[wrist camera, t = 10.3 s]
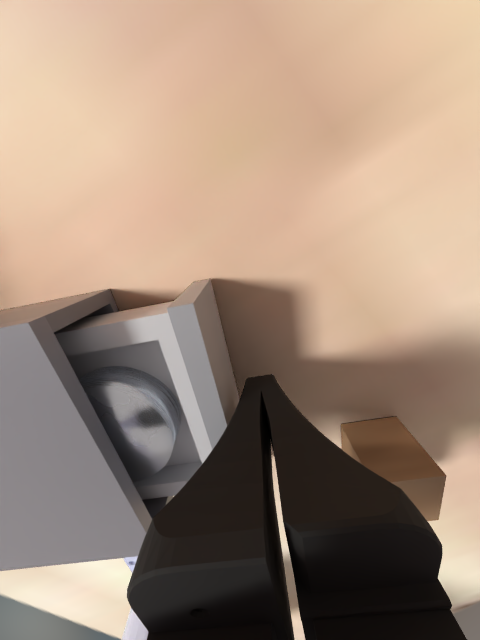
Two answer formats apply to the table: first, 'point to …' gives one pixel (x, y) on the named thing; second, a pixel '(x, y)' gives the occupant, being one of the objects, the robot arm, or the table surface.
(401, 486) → the walnut block
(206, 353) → the grey drawer
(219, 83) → the table surface
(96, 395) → the disc
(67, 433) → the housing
